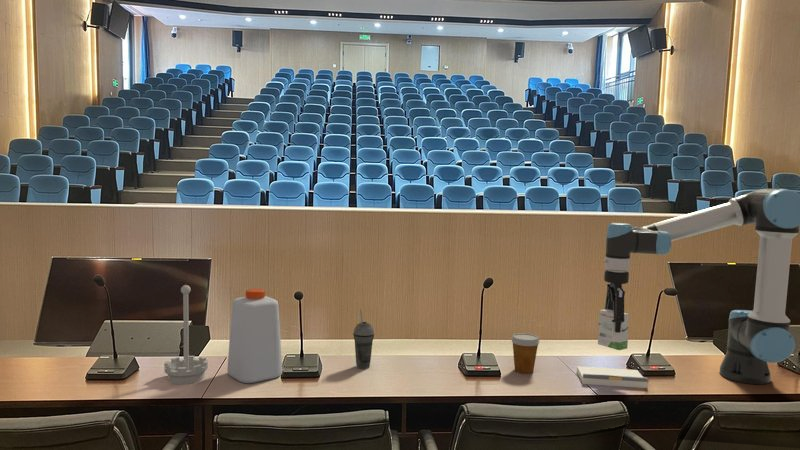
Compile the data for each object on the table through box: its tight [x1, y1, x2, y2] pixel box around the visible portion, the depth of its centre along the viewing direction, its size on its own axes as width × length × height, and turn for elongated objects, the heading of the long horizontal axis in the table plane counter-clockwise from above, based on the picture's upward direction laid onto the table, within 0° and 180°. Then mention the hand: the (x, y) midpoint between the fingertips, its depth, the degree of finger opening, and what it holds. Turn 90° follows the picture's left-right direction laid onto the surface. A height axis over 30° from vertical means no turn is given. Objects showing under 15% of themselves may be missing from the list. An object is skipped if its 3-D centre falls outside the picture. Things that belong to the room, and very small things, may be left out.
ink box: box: [597, 308, 630, 351], centre depth 198 cm, size 9×5×12 cm, turn 33°
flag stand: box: [163, 284, 209, 385], centre depth 189 cm, size 13×13×30 cm
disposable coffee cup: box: [511, 332, 540, 374], centre depth 206 cm, size 10×10×12 cm
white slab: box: [576, 365, 649, 389], centre depth 199 cm, size 20×12×3 cm, turn 83°
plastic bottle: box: [227, 288, 283, 384], centre depth 194 cm, size 15×15×28 cm
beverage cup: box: [352, 309, 375, 370], centre depth 205 cm, size 7×7×20 cm
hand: (612, 337), depth 198 cm, fingers closed on ink box, 9 cm apart
